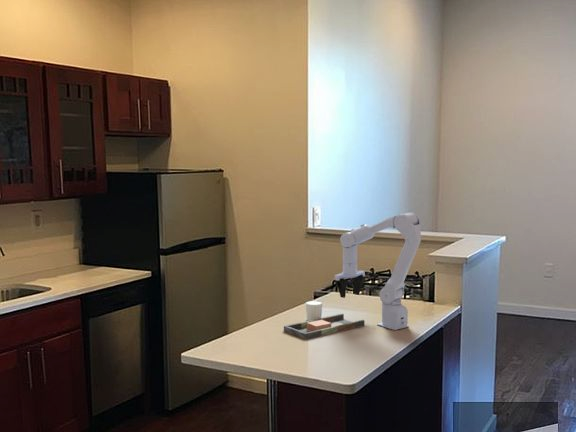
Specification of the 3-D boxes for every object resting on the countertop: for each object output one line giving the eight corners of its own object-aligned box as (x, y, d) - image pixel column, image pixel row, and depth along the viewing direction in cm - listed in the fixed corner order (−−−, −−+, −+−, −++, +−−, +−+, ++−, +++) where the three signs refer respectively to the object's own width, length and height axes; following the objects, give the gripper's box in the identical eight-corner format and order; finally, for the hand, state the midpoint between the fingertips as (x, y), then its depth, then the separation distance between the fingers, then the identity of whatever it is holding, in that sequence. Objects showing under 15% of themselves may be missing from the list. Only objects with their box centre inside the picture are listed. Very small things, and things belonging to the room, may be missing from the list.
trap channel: (364, 325, 234) (364, 320, 234) (305, 339, 217) (305, 333, 216) (342, 318, 244) (342, 313, 244) (283, 331, 227) (283, 326, 227)
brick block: (331, 331, 228) (331, 323, 228) (316, 334, 224) (316, 326, 224) (321, 327, 233) (321, 319, 233) (306, 330, 229) (306, 322, 229)
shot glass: (321, 322, 239) (321, 305, 238) (304, 321, 240) (303, 304, 239) (323, 318, 245) (323, 300, 245) (307, 317, 247) (306, 300, 246)
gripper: (356, 259, 249) (356, 291, 250) (329, 262, 240) (329, 296, 241) (368, 261, 243) (368, 294, 244) (341, 265, 235) (341, 299, 236)
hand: (349, 295), depth 243 cm, fingers open, 7 cm apart
